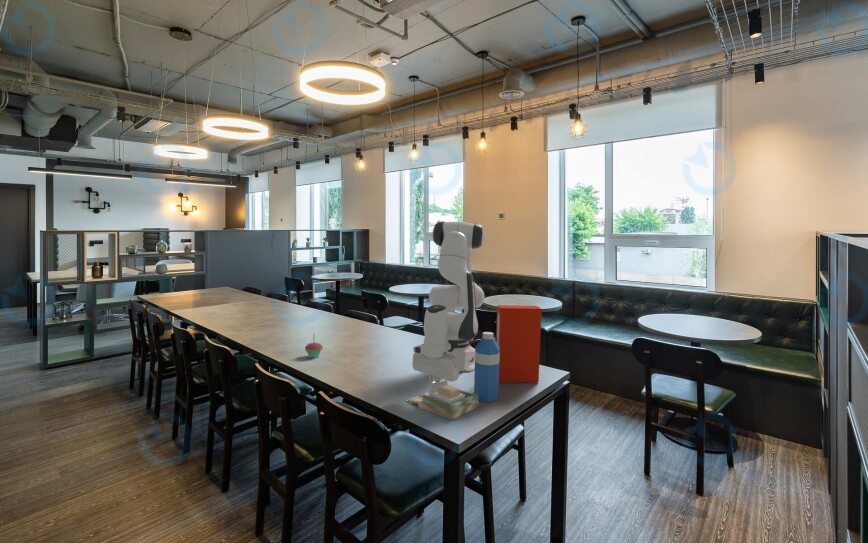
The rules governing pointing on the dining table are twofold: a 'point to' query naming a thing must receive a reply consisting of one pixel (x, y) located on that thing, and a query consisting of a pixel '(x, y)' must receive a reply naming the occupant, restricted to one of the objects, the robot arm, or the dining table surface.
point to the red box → (518, 342)
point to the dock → (447, 405)
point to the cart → (445, 392)
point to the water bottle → (487, 368)
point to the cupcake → (313, 349)
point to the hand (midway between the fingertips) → (434, 387)
